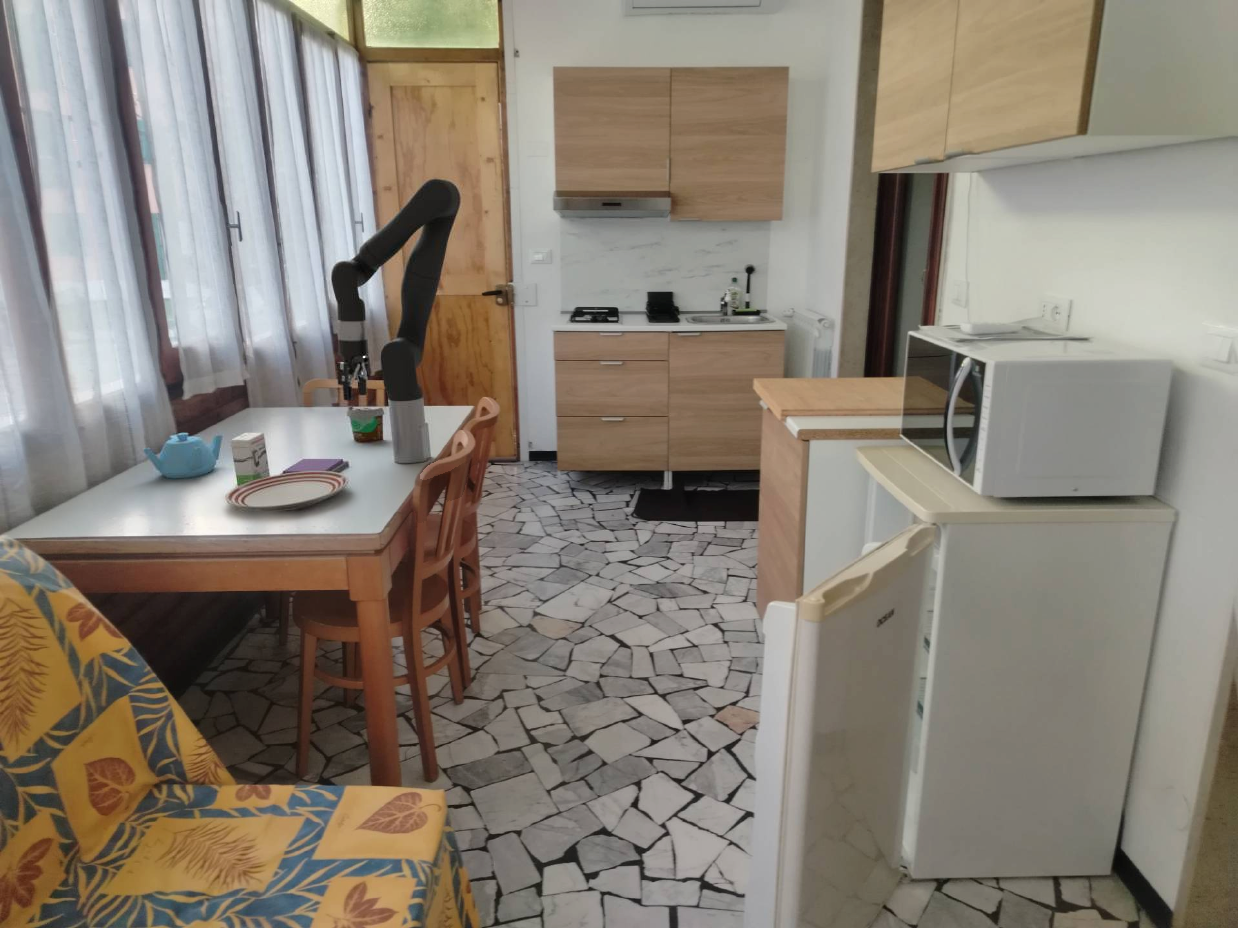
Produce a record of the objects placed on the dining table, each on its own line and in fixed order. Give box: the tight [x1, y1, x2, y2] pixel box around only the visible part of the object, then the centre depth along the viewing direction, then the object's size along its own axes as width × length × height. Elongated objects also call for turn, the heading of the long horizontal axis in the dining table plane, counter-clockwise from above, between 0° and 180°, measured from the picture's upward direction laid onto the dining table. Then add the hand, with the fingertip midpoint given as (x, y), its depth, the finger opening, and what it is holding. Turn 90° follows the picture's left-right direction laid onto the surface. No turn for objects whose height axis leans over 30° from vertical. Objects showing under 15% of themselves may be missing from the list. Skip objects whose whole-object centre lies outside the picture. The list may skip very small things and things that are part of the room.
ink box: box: [230, 432, 271, 486], centre depth 213 cm, size 9×5×12 cm, turn 177°
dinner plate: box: [225, 471, 349, 512], centre depth 199 cm, size 28×27×3 cm
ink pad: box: [280, 458, 350, 474], centre depth 220 cm, size 13×14×2 cm
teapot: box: [142, 432, 223, 479], centre depth 222 cm, size 15×15×11 cm
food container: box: [346, 405, 385, 444], centre depth 251 cm, size 12×6×10 cm, turn 68°
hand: (355, 397), depth 226 cm, fingers open, 8 cm apart
